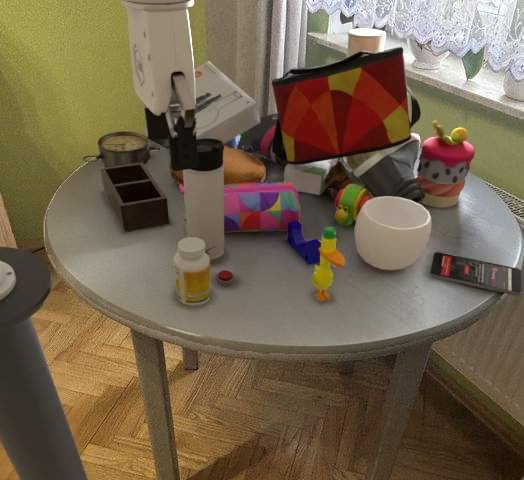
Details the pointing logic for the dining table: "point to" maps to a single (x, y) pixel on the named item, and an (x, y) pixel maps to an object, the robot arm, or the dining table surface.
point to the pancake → (234, 168)
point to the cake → (444, 166)
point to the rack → (135, 196)
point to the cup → (391, 232)
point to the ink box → (309, 175)
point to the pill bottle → (162, 143)
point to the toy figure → (327, 263)
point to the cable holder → (303, 244)
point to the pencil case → (259, 206)
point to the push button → (225, 278)
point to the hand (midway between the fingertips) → (172, 153)
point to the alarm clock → (123, 149)
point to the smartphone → (476, 273)
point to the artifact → (337, 179)
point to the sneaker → (393, 172)
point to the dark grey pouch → (256, 131)
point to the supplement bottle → (192, 272)
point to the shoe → (268, 145)
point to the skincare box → (221, 106)
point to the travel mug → (206, 198)
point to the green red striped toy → (350, 203)
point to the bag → (343, 108)
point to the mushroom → (357, 159)
